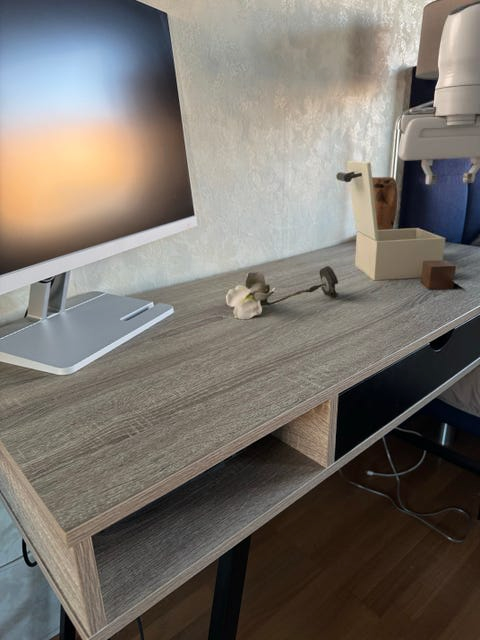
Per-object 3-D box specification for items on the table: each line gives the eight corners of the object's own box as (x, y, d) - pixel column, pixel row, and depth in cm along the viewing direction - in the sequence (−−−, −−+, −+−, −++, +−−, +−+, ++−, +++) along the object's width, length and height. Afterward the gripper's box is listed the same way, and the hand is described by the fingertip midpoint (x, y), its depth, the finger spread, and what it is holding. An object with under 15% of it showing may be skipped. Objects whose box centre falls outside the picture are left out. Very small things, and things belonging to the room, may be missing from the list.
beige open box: (414, 262, 114) (417, 227, 111) (440, 276, 102) (445, 238, 98) (354, 265, 113) (356, 231, 110) (374, 280, 101) (376, 241, 98)
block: (358, 244, 137) (362, 176, 130) (382, 242, 138) (388, 175, 130) (370, 251, 127) (375, 178, 120) (396, 250, 128) (402, 177, 120)
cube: (443, 282, 97) (446, 260, 95) (452, 289, 93) (456, 265, 91) (420, 283, 98) (423, 260, 96) (428, 289, 93) (431, 266, 91)
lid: (350, 160, 104) (330, 165, 104) (370, 162, 91) (347, 167, 91) (358, 229, 110) (339, 233, 110) (378, 239, 97) (357, 244, 97)
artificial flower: (345, 309, 87) (349, 266, 81) (237, 338, 83) (232, 294, 77) (325, 286, 94) (327, 244, 88) (223, 311, 90) (218, 269, 84)
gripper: (407, 107, 80) (400, 186, 85) (524, 101, 79) (510, 182, 84) (397, 109, 86) (391, 184, 91) (506, 104, 85) (493, 180, 90)
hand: (449, 183), depth 87 cm, fingers open, 6 cm apart
